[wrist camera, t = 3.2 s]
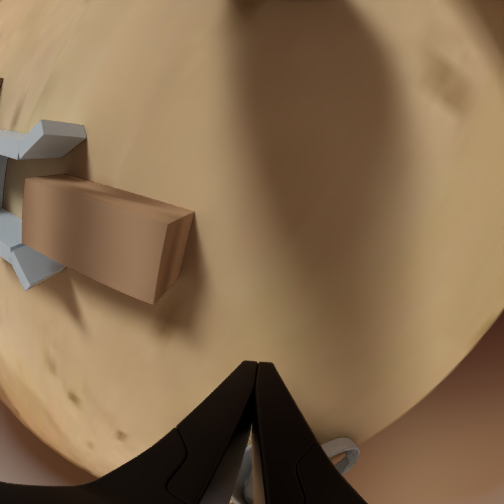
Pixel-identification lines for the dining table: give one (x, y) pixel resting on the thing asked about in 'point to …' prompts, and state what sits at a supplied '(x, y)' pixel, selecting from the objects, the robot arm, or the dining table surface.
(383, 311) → the dining table surface
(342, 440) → the ceramic mug
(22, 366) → the dining table surface
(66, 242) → the rectangular wooden block
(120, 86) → the dining table surface
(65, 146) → the cradle
